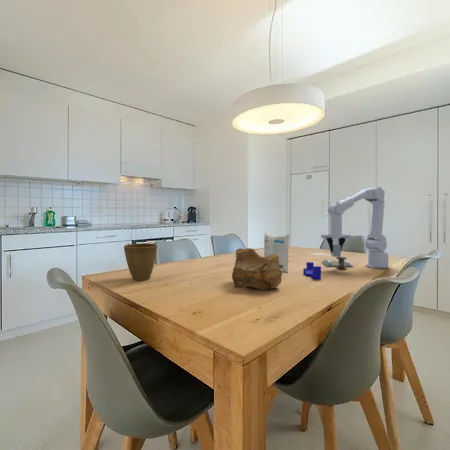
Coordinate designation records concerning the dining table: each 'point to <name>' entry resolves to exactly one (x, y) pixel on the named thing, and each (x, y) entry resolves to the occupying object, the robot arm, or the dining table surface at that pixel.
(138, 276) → the plant pot
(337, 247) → the blue-grey block
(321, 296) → the dining table surface
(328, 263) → the grey railed square plate
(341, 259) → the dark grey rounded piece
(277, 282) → the rough brown rock
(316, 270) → the cable clip
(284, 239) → the pouch
